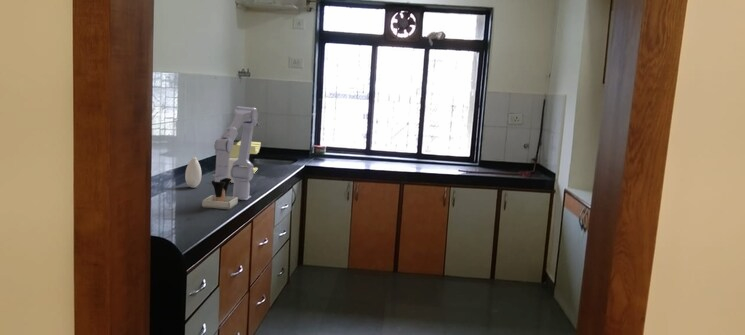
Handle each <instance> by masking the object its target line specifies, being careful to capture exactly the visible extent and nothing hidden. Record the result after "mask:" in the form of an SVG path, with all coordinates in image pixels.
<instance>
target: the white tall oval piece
mask: <svg viewBox="0 0 745 335" xmlns="http://www.w3.org/2000/svg"><path fill="white" fill-rule="evenodd" d="M193 153H194V154H193V157H191V160H189V162H188V163H187V166H186V169H185V172H184V173H185V174H184V175H185V176H184V177H185V178H184V179H185V183H186V184H187V186H189V187H190V188H191V189H195V188H196V187H197V186H199V185H200V183H201V181H202V175H203V174H202V173H203V172H202V168H201V164H200V162H199V161H198V158H197V157H196V156H195V155H196V154H195V152H193Z"/></svg>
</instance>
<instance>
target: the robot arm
mask: <svg viewBox="0 0 745 335" xmlns="http://www.w3.org/2000/svg"><path fill="white" fill-rule="evenodd" d="M233 116H234V117H233V119H232V122H231V124H230V126H227V127H226V128H225V129H224V132H223V133H222V135H221V136H220V138H216V139H215V142H214V144H213V145H214V151H215V152H214V153H215V155H216V157H215V173H213V174H212V177H214V180H211V184H212V186H213V189H214V195H216V197H221V195H222V190H223V189H224V190H225V195H226V194H227V191H228V188H229V185H230V184H231V183H230V181H231V179H230V178H229V159H230V152H231V150H232V148H233V145H235V143H234V141H235V140H236V138H237V137H238V134H239V133H238V132H239V129H240V128H241V126H242V131H241V137H240V138H241V139H240V141H241V144H240V151H239V157H238V160H236V161H235V162H233V165H232V168H231V171H230V175H231V177H232V178H233V180H234V183H233V189H232V196H231V197H238V200H241V201H247V200H249V199H250V198H252V195H250V190H251V189H250V188H251V184H250V181H251V180H253V177H254V174H255V173H254V171H253V167H254V164H253V163H252V161H250V155H251V154H250V148H251V142H253V141H252V140H253V134H254V129H255V128H254V127H256V126H257V124H258V119H259V112H258V109H257V108H256V107H248V106H239V105H237V106H236V107H235V108H234V112H233ZM242 166H247V167H242Z"/></svg>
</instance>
